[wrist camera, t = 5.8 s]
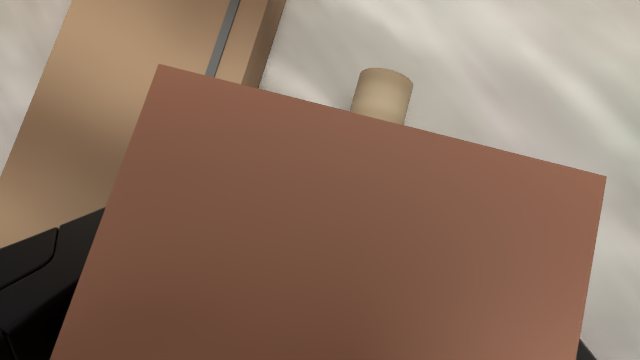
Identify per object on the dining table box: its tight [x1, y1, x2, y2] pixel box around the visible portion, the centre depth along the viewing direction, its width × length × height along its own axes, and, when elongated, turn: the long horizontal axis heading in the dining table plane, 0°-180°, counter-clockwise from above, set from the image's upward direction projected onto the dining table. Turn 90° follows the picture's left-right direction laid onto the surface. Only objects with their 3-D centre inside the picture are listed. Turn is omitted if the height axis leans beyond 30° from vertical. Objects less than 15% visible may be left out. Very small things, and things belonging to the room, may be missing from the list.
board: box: [0, 0, 286, 248], centre depth 15 cm, size 22×6×2 cm, turn 165°
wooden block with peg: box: [50, 64, 607, 360], centre depth 10 cm, size 8×5×11 cm, turn 165°
